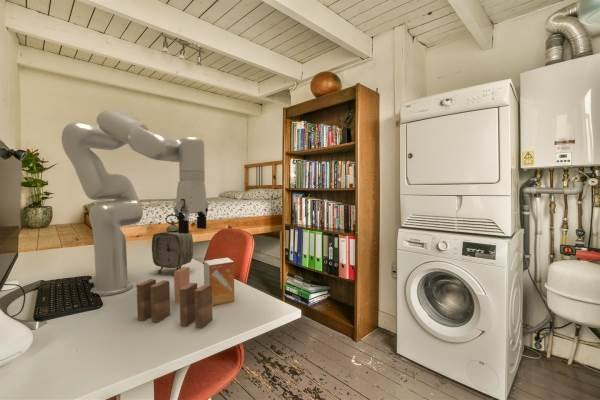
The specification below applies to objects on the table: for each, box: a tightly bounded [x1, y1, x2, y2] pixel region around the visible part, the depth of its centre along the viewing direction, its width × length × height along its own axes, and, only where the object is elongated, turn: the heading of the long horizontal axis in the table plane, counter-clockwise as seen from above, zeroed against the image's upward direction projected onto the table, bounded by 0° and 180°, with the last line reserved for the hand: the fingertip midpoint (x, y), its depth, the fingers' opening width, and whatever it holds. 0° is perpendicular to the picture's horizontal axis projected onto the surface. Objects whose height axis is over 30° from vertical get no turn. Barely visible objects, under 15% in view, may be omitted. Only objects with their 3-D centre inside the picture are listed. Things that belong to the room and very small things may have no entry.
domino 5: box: [194, 283, 213, 329], centre depth 78 cm, size 2×5×10 cm, turn 166°
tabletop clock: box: [151, 213, 194, 274], centre depth 122 cm, size 14×9×25 cm, turn 73°
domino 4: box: [179, 282, 198, 327], centre depth 79 cm, size 2×5×10 cm, turn 166°
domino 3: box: [173, 266, 191, 304], centre depth 94 cm, size 2×5×10 cm, turn 166°
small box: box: [203, 257, 235, 307], centre depth 93 cm, size 8×6×13 cm
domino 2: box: [151, 279, 171, 324], centre depth 81 cm, size 2×5×10 cm, turn 167°
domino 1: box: [136, 278, 157, 322], centre depth 82 cm, size 2×5×10 cm, turn 166°
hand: (193, 230), depth 93 cm, fingers open, 9 cm apart
